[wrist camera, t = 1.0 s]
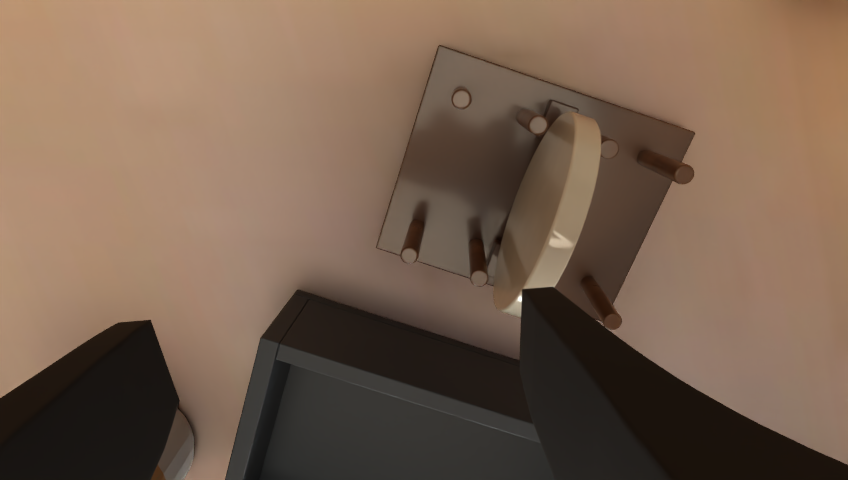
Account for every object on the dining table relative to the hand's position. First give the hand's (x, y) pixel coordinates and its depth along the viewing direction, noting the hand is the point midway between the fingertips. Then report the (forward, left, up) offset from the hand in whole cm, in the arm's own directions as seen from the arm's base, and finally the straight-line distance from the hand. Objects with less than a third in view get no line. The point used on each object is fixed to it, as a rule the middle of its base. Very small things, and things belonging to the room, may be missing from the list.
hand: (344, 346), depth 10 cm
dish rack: (-5, -2, -15) cm, 16 cm away
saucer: (-5, -2, -13) cm, 14 cm away
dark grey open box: (-5, +13, -15) cm, 20 cm away
